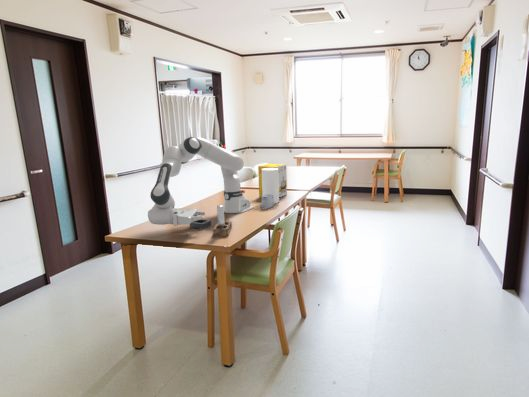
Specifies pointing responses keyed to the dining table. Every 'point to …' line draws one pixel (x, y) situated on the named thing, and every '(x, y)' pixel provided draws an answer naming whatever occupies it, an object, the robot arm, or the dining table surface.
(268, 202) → the medicine box
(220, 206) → the rod
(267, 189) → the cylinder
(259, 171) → the packaging box
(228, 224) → the tool rack
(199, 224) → the socket block
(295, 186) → the dining table surface
